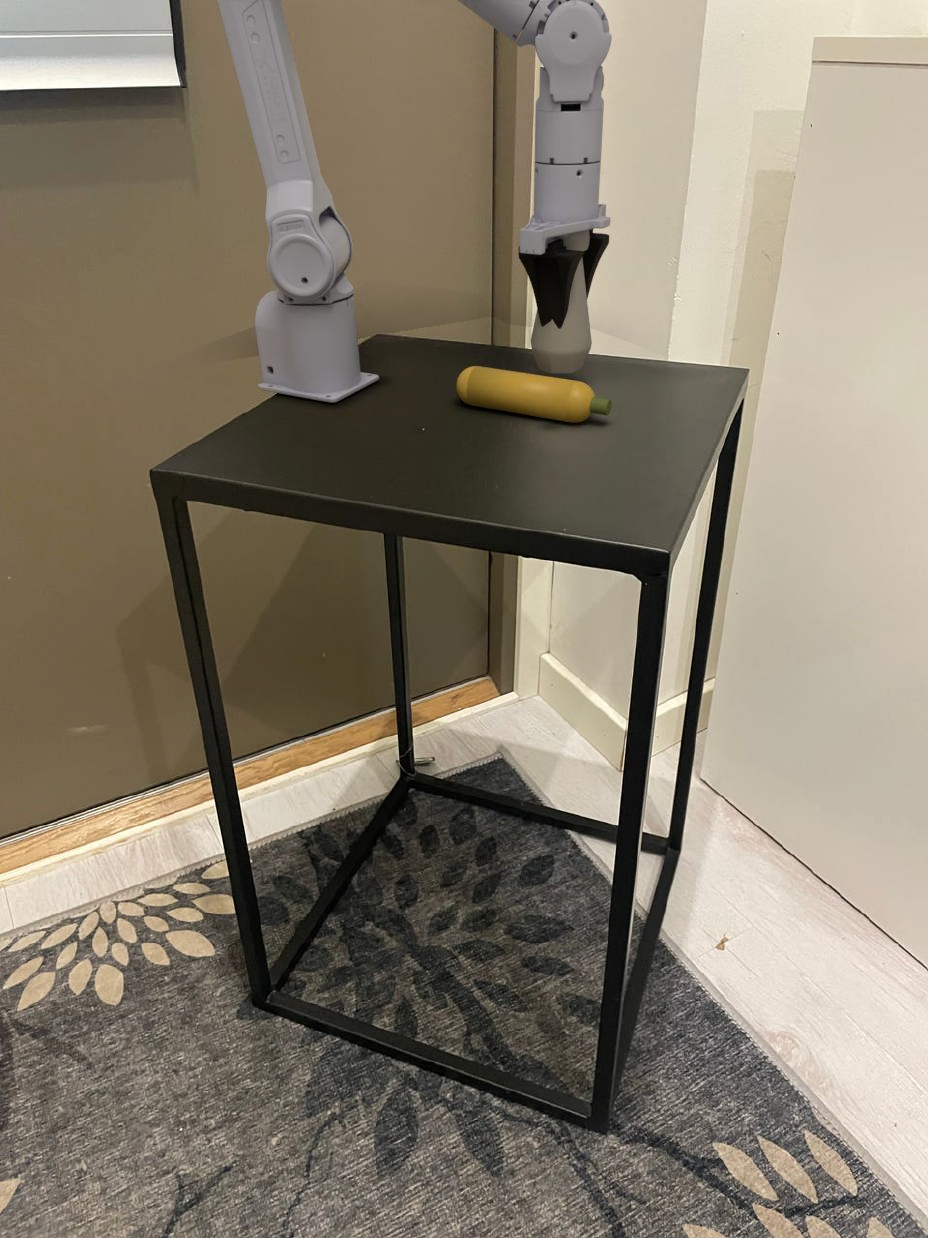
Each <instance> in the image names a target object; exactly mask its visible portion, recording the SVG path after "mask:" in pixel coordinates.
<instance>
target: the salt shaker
mask: <svg viewBox="0 0 928 1238" xmlns="http://www.w3.org/2000/svg"><path fill="white" fill-rule="evenodd" d="M559 239H562V240H563V247H564V246H566V250H576V251H585V250H587V249H588V246H589V239H590V236H589V230H586V231H581V232H576V233H571V234H568V236H567V237H559ZM590 324H591V323H590V315H589V306H588V299H587V295H586V286H585V277H584V268H583V259H582V258H581V260H580V262H579V264H578V267H577V270H576V272H575V276H574V279H573V283H572V287H571V292H570V299H569V306H568V312H567V315H566V317H565V320H564V323H563V325H562V328H561V329H558V327H557V326H556V324H555V323H554V321H553V319H552V320H551V322H549V323H548V324H546V325H545V326H544V327H542V326H541V323H540V319H539V315H538V310H537V309H536V313H535V318H534V322H533V327H532V332H531V337H530V347H531V351H532V354H533V357H534V360H535V362H536V365H537V368H538V370H541V371H543V372H545V373H550V374H573V373H575V372H577V371H579V370H581V369H582V368H583V366H584V364H585V362H586V360H587V358H588V356H589V353H590V351H591V349H592V345H593V344H592V343H593V341H592V333H591V325H590Z"/></svg>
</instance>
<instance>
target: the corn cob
mask: <svg viewBox="0 0 928 1238" xmlns="http://www.w3.org/2000/svg"><path fill="white" fill-rule="evenodd" d="M455 387H456V392H457V395H458V397H459V398H460V400H461V401H462V402H463V403H465V404H466V405H469V406H472V407H477V408H485V409H490V410H497V411H501V412H508V413H512V414H520V415H526V416H531V417H536V418H542V419H547V420H548V419H549V420H553V421H560V422H565V423H571V424H576V423H577V424H578V423H582V422H584V421H586V420H587V419H588V418H590V417H591V416H592V414H594V415H595V414H596V415H601V416H609V415H610V413H611V411H612V407H613V406H612V405H613V402H612V399H610V398H605V397H599V396H596V394H595V392H594V390H593V389H592V388H591V386H589V384H587V383H585V382H583V381H579V380H573V379H566V378H561V377H554V376H547V375H540V374H533V373H527V372H521V371H513V370H508V369H507V370H506V369H501V368H495V367H494V368H493V367H486V366H480V365H472V366H469V367H467V368H465V369H464V370H462V371H461V372H460V374H459V375H458V377H457V380H456V385H455Z"/></svg>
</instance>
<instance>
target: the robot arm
mask: <svg viewBox="0 0 928 1238" xmlns="http://www.w3.org/2000/svg"><path fill="white" fill-rule="evenodd" d="M216 1H217V5H218V9H219V12H220V16H221V21H222V25H223V29H224V32H225V36H226V40H227V44H228V47H229V51H230V54H231V55H230V56H231V58H232V63H233V67H234V70H235V74H236V77H237V81H238V85H239V90H240V93H241V96H242V101H243V104H244V109H245V112H246V117H247V119H248V123H249V127H250V132H251V135H252V139H253V142H254V146H255V150H256V154H257V157H258V160H259V165H260V170H261V173H262V176H263V182H264V184H265V189H266V201H265V211H264V212H265V214H264V215H265V216H264V218H265V219H264V220H265V224H266V228H267V233H268V248H267V253H266V269H267V272H268V275H269V277H270V280H271V281H272V283H273V284H274V286H275V287H276V289H275V290H271V291H269V292H267V293H266V294H264V295H263V296H262V297H261V299H260V300H259V302H258V303H257V307H256V311H255V317H254V329H255V337H256V343H257V350H258V358H259V364H260V373H261V379H262V382H261V383H258V384H257V389H258V390H259V391H264V392H268V393H269V392H271V393H275V394H281V395H286V396H292V397H297V398H303V399H308V400H313V401H319V402H324V403H330V404H335V403H338V402H339V401H342V400H343V399H346V398H347V397H349V396H351V395H353V394H356V393H358V392H359V391H361V390H363V389H365V388H367V387H368V386H370V385H372V384H374V383H376V382H377V381H380V376H379V375H378V374H375V373H368V372H363V371H361V362H360V351H359V349H360V348H359V337H358V325H357V324H358V323H357V313H356V302H355V290H354V289H355V288H354V286H353V284H352V283H351V282H350V281H349V280H348V277H347V275H346V274H345V271H346V270H347V269H348V268H349V266H350V263H351V262H352V259H353V253H354V243H353V238H352V235H351V233H350V231H349V228H348V227H347V226H346V224H345V222H344V221H342V220H341V217H340V216H339V214H338V212H337V210H336V207H335V203H334V199H333V195H332V193H331V190H330V189H329V187H328V186H327V184H326V181H325V179H324V178H323V176H322V172H321V168H320V164H319V160H318V159H319V158H318V155H317V150H316V146H315V142H314V138H313V133H312V128H311V125H310V120H309V116H308V112H307V107H306V103H305V99H304V98H305V97H304V94H303V90H302V86H301V82H300V81H301V80H300V78H299V73H298V68H297V63H296V60H295V56H294V51H293V47H292V43H291V39H290V34H289V29H288V25H287V21H286V17H285V11H284V8H283V4H282V0H216ZM457 2H459V3H460V4H462V5H463V6H464V7H466V8H467V9H469V10H470V11H471V12H472V13H474V14H475V15H477V16H478V17H479V18H480V19H482V21H484V22H486V23H487V24H489V26H491V27H492V28H493V29H495V30H496V31H497V32H499V33H500V34H502V36H504V37H506V38H507V39H508V40H510V41H511V42H513V43H514V44H515V45H517V46H518V47H519V48H523V47H525V46H528V45H531V46H534V49H535V52H536V55H537V58H538V60H539V62H540V64H541V65H542V66H540V67H539V87H538V88H539V92H538V98H537V99H536V101H535V110H534V111H535V112H534V113H535V115H534V117H535V118H534V119H535V120H534V123H535V124H534V164H533V165H534V166H533V169H534V170H533V171H534V172H533V173H534V174H533V176H534V177H533V215H531V216H530V219H529V220H528V222H527V223H526V225H525V226H524V227H522V228H520V229H519V246H518V260H519V261H520V262H521V264H522V266H523V269H524V270H525V272H526V274H527V276H528V279H529V281H530V285H531V288H532V292H533V296H534V300H535V304H536V311H537V310H538V315H539V319H540V323H541V326H542V327H544V326H545V325H546V324H548V323H549V322H551V320H552V319H553V321H554V323H555V324H556V326H557V327H558V329H561V328H562V325H563V323H564V320H565V317H566V315H567V312H568V306H569V299H570V292H571V287H572V283H573V279H574V276H575V272H576V270H577V267H578V264H579V262H580V260H581V258H582V259H583V268H584V277H585V286H586V295H587V300H588V299H589V295H590V291H591V287H592V283H593V280H594V276H595V273H596V271H597V268H598V266H599V264H600V261H601V259H602V257H603V254H604V253H605V251H606V249H607V248H608V247H609V243H610V235H609V234H607V233H601V232H594V230H595V229H605V228H608V227H610V226H611V217H610V216H607V204H605V203H599V201H600V183H601V169H602V168H601V167H602V165H601V164H602V148H603V128H604V109H605V101H604V98H603V97H602V92H603V90H604V86H605V75H604V74H605V73H604V67H603V66H602V65H603V63H604V62H605V60H606V58H607V57H608V55H609V51H610V48H611V44H612V39H613V37H612V33H610V24H609V20H608V18H607V15H606V12H605V10H604V9H603V7H602V6H601V5H600V3H599V2H598V1H597V0H457ZM586 230H589V236H590V239H589V246H588V249H587V250H585V251H576V250H566V246H564V247H563V240H562V239H559V237H567V236H568V234H571V233H576V232H581V231H586Z"/></svg>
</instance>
